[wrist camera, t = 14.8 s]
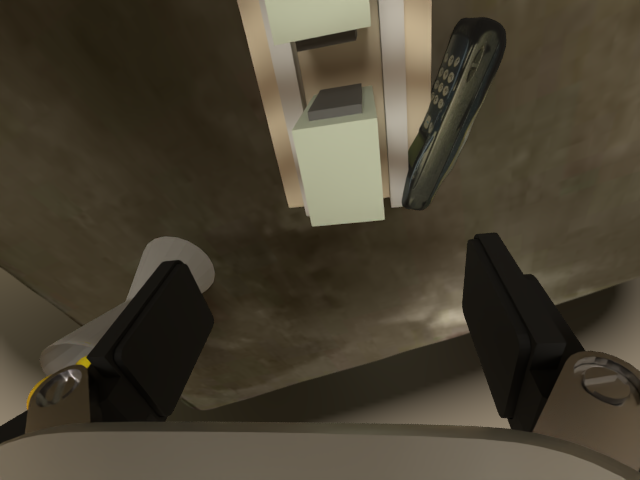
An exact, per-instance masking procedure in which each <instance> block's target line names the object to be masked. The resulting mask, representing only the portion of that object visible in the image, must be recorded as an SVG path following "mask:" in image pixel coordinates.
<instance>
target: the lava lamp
mask: <svg viewBox="0 0 640 480" xmlns="http://www.w3.org/2000/svg"><path fill="white" fill-rule="evenodd" d="M172 260H181V261H182V262H183V263H184V264H187V265H188V267H189V269H190V271H191V273H192V275H193V277H194V279H195V281H196V283H197V285H198V287H199V289H200V291H201V293H203V292H205V291H206V290H207V289H208V288H209V287H210V286H211V285H212V283H213V282H214V277H215V271H214V267H213V264H212V262H211V260H210V259H209V257H208V256H207V255H206V254H205V253H204V252H203V251H202V250H201V249H200V248H199V247H197V246H196V245H194V244H192V243H191V242H189V241H187V240H184V239H180V238H177V237H166V236H164V237H160V238H156V239H154V240H152V241H151V242H150V243H148V244H147V246H146V248H145V250H144V252H143V255H142V258H141V260H140V263H139V266H138V269H137V271H136V274H135V277H134V280H133V283H132V285H131V288H130V291H129V294H128V296H127V299H126V302H124V303H122V304H120V305H119V306H117V307H115V308H113V309H112V310H110V311H108V312H106V313H105V314H103V315H101V316H100V317H98V318H96V319H94V320H93V321H91V322H89V323H87V324H86V325H84V326H82V327H81V328H79V329H77V330H75V331H74V332H72V333H70V334H69V335H67V336H65V337H63V338H62V339H60V340H58V341H57V342H55V343H53V344H52V345H51V346H49V347H47V348H46V349H44V350H43V351H42V353H41V356H40V359H39V360H40V364H41V368H42V370H43V371H44V373H45V374H46V375H47V377H45V378H44V379H43V380H41V381H40V382H38V383H37V384H36V385H35V386H34V388H33V389H32V390H31V392H30V394H29V396H28V400H27V410H28V406H29V401H30V398H31V396H32V394H33V393H34V391H35V390H36V389H37V388H38V386H39V385H40V384H41V383H42V382H43V381H44V380H46V379H47V378H48V377H49V376H51V375H52V374H54V373H55V372H57V371H59V370H60V369H63V368H65V367H67V366H71V365H76V364H77V365H83V366H85V367H86V368H88V367H89V365H90V364H91V363H90V362H89V360H88V359H87V358H86V357H87V355H88V354H89V353H90V352H91V350H92V349H93V348H94V347H95V345H96V344H97V343H98V342H99V340H100V339H101V338H102V337H103V335H104V334H105V333H106V332H107V330H108V329H109V328H110V326H111V325H112V324H113V323H114V321H115V320H116V319H117V318H118V316H119V315H120V314H121V313H122V311H123V310H124V309H125V308H126V306H127V305H128V304H129V303H130V301H131V300H132V299H133V298H134V296H135V295H136V294H137V293H138V291H139V290H140V289H141V288H142V286H143V285H144V284H145V283H146V281H147V280H148V279H149V277H150V276H151V275H152V274H153V272H154V271H155V270H156V269H157V267H158V266H159V265H160V264H161V263H162V262H164V261H172Z"/></svg>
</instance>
